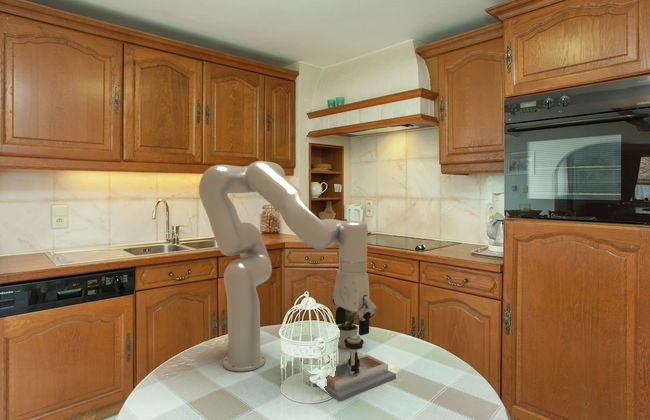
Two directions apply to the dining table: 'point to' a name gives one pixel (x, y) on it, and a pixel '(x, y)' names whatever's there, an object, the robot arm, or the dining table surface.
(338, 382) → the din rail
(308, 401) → the dining table surface
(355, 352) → the round cylindrical fitting
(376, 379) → the panel
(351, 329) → the house plant
